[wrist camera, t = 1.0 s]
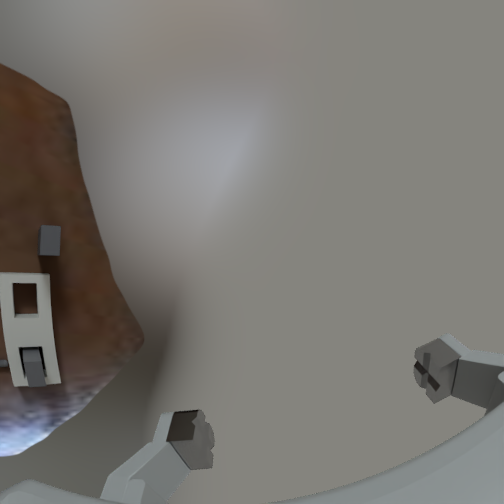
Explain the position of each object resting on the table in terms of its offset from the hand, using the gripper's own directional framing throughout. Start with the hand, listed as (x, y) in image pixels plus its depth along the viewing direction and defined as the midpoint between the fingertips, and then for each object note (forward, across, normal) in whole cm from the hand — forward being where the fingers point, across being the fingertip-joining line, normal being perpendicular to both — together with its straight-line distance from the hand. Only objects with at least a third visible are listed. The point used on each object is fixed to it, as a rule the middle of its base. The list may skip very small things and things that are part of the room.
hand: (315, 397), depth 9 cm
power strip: (+21, +44, +1) cm, 48 cm away
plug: (+31, +34, -9) cm, 46 cm away
